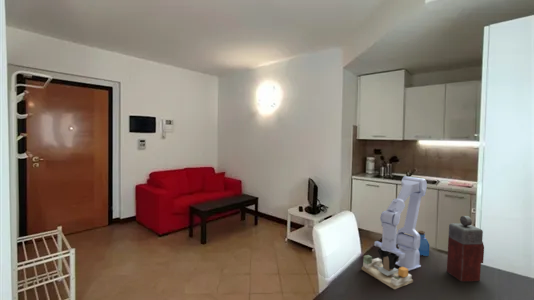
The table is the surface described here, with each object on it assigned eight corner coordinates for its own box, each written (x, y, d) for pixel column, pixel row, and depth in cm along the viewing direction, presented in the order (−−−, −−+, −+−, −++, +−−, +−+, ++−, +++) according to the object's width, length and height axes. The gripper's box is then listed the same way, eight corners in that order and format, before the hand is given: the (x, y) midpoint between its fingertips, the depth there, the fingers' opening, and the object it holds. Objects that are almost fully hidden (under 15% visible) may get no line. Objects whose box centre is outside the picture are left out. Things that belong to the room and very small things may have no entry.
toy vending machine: (485, 280, 118) (488, 219, 116) (461, 281, 117) (464, 219, 115) (468, 270, 127) (472, 213, 125) (446, 271, 126) (449, 213, 124)
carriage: (388, 267, 124) (389, 254, 124) (398, 272, 120) (398, 258, 120) (378, 270, 121) (378, 257, 121) (387, 275, 117) (387, 262, 116)
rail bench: (379, 264, 132) (379, 251, 132) (412, 282, 116) (413, 268, 116) (361, 269, 127) (361, 256, 127) (394, 289, 111) (394, 274, 110)
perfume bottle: (428, 256, 142) (429, 234, 141) (416, 254, 143) (417, 233, 142) (424, 251, 148) (425, 230, 147) (412, 250, 149) (413, 229, 148)
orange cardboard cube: (402, 273, 117) (403, 266, 116) (407, 275, 114) (408, 269, 114) (398, 274, 115) (398, 268, 115) (403, 277, 113) (403, 270, 113)
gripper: (370, 233, 124) (369, 261, 125) (397, 245, 111) (396, 276, 112) (380, 231, 127) (379, 258, 128) (408, 242, 114) (407, 272, 115)
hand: (388, 266), depth 120 cm, fingers closed on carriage, 3 cm apart
